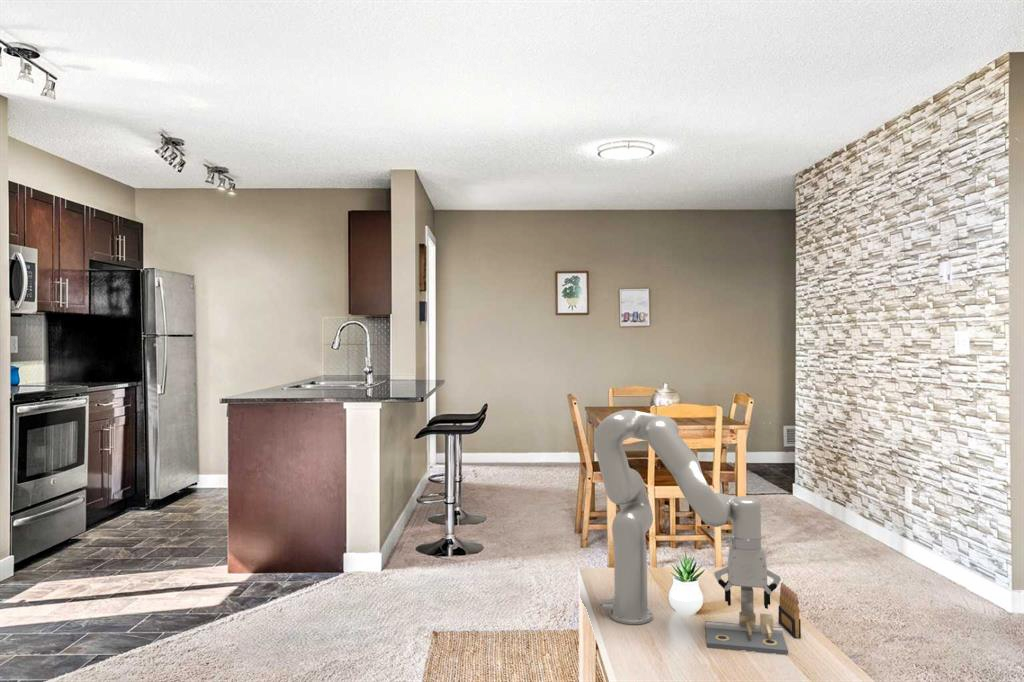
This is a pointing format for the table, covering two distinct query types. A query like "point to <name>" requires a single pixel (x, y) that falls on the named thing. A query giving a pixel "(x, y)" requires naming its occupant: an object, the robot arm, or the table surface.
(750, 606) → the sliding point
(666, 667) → the table surface
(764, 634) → the hole plate
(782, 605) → the ammunition clip
